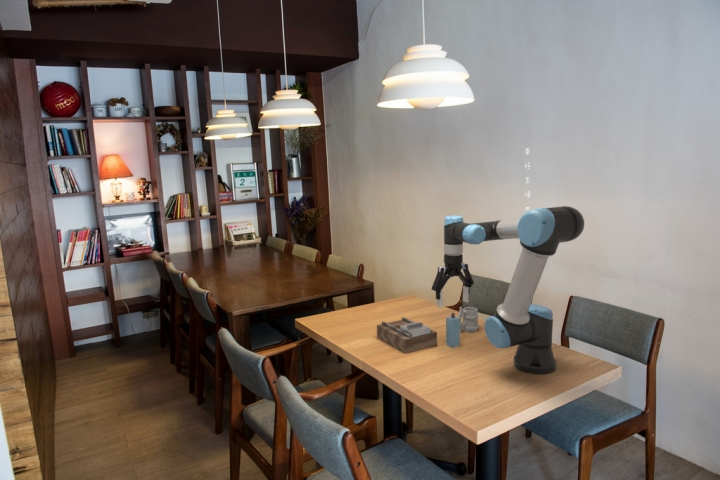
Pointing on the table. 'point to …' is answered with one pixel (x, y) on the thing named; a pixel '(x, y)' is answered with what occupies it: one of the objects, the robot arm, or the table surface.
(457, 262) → the robot arm
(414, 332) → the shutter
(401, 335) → the socket box
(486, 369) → the table surface
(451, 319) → the blue square bottle
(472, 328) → the mug
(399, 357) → the table surface
